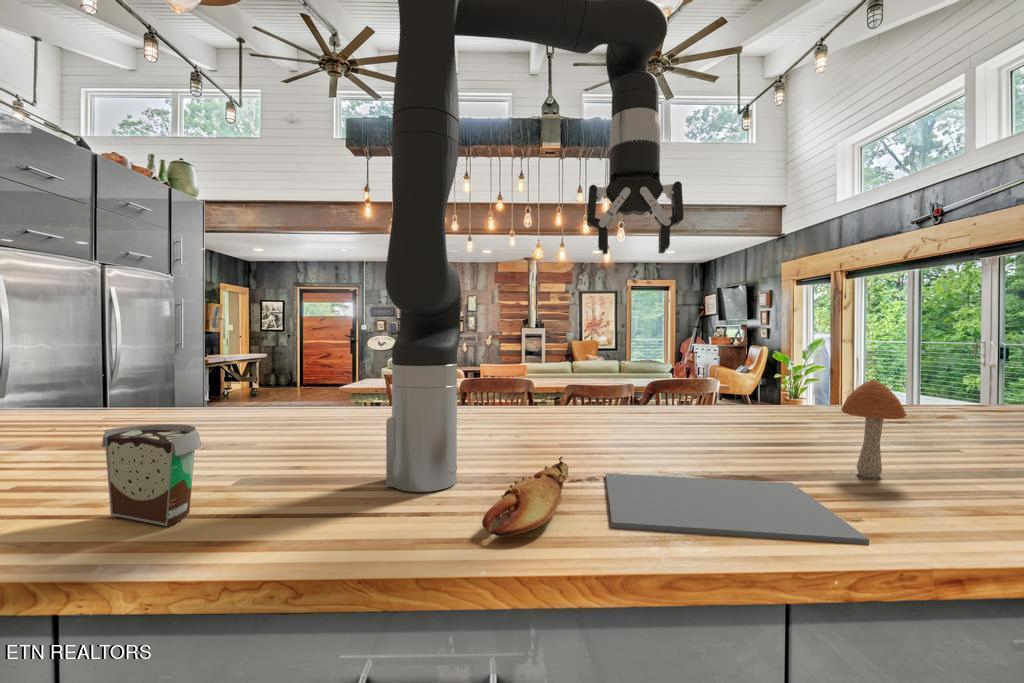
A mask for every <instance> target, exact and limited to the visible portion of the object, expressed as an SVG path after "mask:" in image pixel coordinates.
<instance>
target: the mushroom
mask: <svg viewBox="0 0 1024 683" xmlns="http://www.w3.org/2000/svg"><path fill="white" fill-rule="evenodd" d="M841 411H842V413H843V414H846V415H850V416H854V417H859V418H860V417H861V418H865V420H864V421H865V424H864V436H863V437H864V438H863V443H862V447H861V449H860V453H859V457H858V460H857V464H856V470H857V473H858V475H859V476H860V477H865V478H871V479H877V478H880V476H881V475H882V474H883V473H882V472H883V467H882V466H883V465H882V454H881V438H882V433H883V432H882V431H883V426H884V425H883V424H884V420H899V419H904V418H905V417H907V413H906V411H905V408H904V406H903V404H902V403H901V401H900V400H899V398H898V397H897V396H896V394H894V393H893V391H891V389H889V387H887V386H886V385H885V384H883V383H882V382H880V381H878V380H876V379H874V378H873V379H870V380H868V381H867V382H864V383H862V384H861V385H859V386H858V387H857V388H855V389H854V390H853V391H852V392H851V394H849V395H848V397H847V398H846V400H845V401H844V403H843V405H842V407H841Z"/></svg>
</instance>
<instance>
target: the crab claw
mask: <svg viewBox="0 0 1024 683" xmlns="http://www.w3.org/2000/svg"><path fill="white" fill-rule="evenodd" d="M562 459H563V456H560V457H559V459H558V461H559V462H558V463H555V464H553V465H551V466H549V467H548V466H546V465H545V466H544V469H543V470H540V471H538V472H536V473H535V474H534V475H533V478H532V477H531V476H529V477H528V478H527V479H526V478H525V477H522V481H518V480H517V481H516V480H514V485H513V484H512V485H511V484H510V485H509V488H508V489H507V490H506V491H505V492H504V494H501V498H500V499H499V500H498V501H497V502H495V504H493V505H492V506H491V507H490V509H488V510H487V512H486V513H485V514H484V515H483V518H482V521H481V524H482V527H483V528H484V530H486V531H487V532H488V533H490V534H493V535H494V536H497V537H508V536H515V535H519V534H522V533H527V532H529V531H532V530H534V529H537V528H539V527H541V526H542V525H545V524H546V523H547V522H548V521H550V520H551V518H552V517H553V516H554V515H555V513H556V511H557V509H558V507H559V505H560V504H561V502H562V500H563V494H562V490H563V486H564V482H565V481H566V480H567V479H568V475H569V466H568V464H567V463H565V462H564V461H562ZM506 515H507V519H505V520H504V521H502V522H501V523H500V525H499V526H497V527H496V528H493V529H491V526H492V524H493V523H495V522H496V520H497V521H498V520H502V518H503V516H506Z"/></svg>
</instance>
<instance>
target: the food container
mask: <svg viewBox="0 0 1024 683" xmlns="http://www.w3.org/2000/svg"><path fill="white" fill-rule="evenodd" d="M101 447H102V448H105V459H106V470H107V473H106V474H107V483H108V497H109V510H110V516H113V517H118V518H125V519H129V520H134V521H140V522H143V523H144V522H145V523H151V524H155V525H160V526H166V527H168V526H171V525H173V524H175V523H177V522H180V521H181V520H183V519H184V518H186V517H187V516H188V514H189V513H190V508H191V498H192V489H193V488H192V486H193V477H194V475H193V474H194V465H195V464H194V462H195V456H196V455H195V454H196V453H195V452H196V450H198V449H199V448H201V447H202V440H201V436H200V432H198V431H197V428H196V427H195V426H194V425H189V424H179V423H178V424H176V423H171V424H170V423H165V424H163V423H162V424H145V425H144V424H143V425H132V426H131V425H129V426H122V427H115V428H109V429H105V430H104V434H103V435H102V442H101Z"/></svg>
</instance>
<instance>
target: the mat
mask: <svg viewBox="0 0 1024 683" xmlns="http://www.w3.org/2000/svg"><path fill="white" fill-rule="evenodd" d="M605 482H606V489H607V490H606V491H607V499H608V507H609V515H610V522H611V524H610V525H611V528H614V529H615V528H616V529H625V530H626V529H627V530H628V529H629V530H641V531H642V530H643V531H657V532H672V533H676V532H677V533H687V534H688V533H689V534H700V535H701V534H704V535H714V536H715V535H718V536H729V537H730V536H731V537H732V536H733V537H745V538H746V537H748V538H762V539H763V538H765V539H780V540H781V539H782V540H794V541H795V540H796V541H814V542H826V543H830V542H831V543H843V544H844V543H845V544H847V543H848V544H860V545H870V539H869V537H867V536H865V535H864V534H863V533H862V532H860V531H859V530H858V529H856V528H854V527H853V526H852V525H851V524H849V523H848V522H846V521H845V520H844V519H842V517H839V516H838V515H837V514H836V513H834V512H833V511H831V510H830V509H829V508H827V507H826V506H825V505H823V504H822V503H820V502H819V501H818V500H816V499H815V498H814V497H812V496H811V495H809V494H808V493H806V492H805V491H804V490H802V489H801V488H800V487H798V486H797V485H796V484H795V483H793V482H788V481H787V482H786V481H767V480H766V481H764V480H749V479H748V480H745V479H744V480H742V479H729V478H728V479H727V478H726V479H725V478H705V477H690V476H689V477H688V476H687V477H686V476H685V477H684V476H669V475H668V476H667V475H664V476H663V475H645V474H627V473H626V474H625V473H610V472H609V473H607V472H606V473H605Z"/></svg>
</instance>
